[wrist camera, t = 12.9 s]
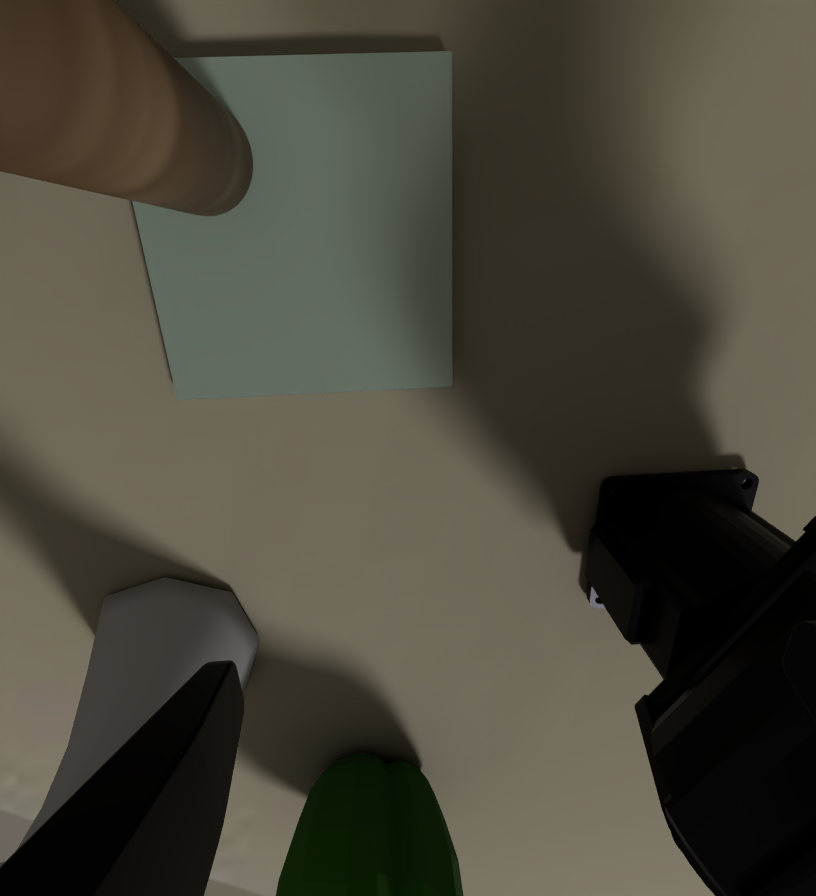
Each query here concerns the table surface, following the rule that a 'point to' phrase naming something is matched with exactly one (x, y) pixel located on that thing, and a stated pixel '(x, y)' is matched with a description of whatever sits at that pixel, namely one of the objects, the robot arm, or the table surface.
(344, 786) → the bell pepper
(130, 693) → the flask
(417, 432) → the table surface
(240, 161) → the walnut peg
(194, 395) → the green pad
